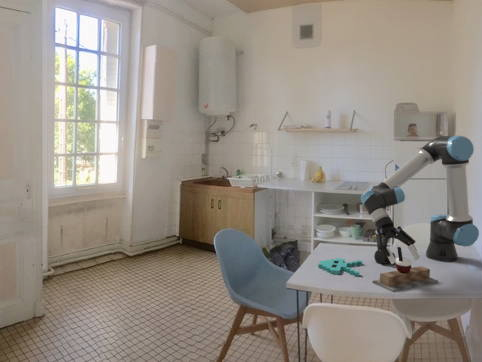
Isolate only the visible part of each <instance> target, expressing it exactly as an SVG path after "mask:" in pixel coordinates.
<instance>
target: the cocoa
mask: <svg viewBox="0 0 482 362" xmlns="http://www.w3.org/2000/svg"><path fill="white" fill-rule="evenodd" d="M395 259H396V262H395V268H396V271H397V270H398V271H399V272H400V273H408V272H409V271H410V269H411V267H412V262H411V260H410V259H409V258H406V257H404V256H403V253H402V247H401V246H397V258H395Z"/></svg>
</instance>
